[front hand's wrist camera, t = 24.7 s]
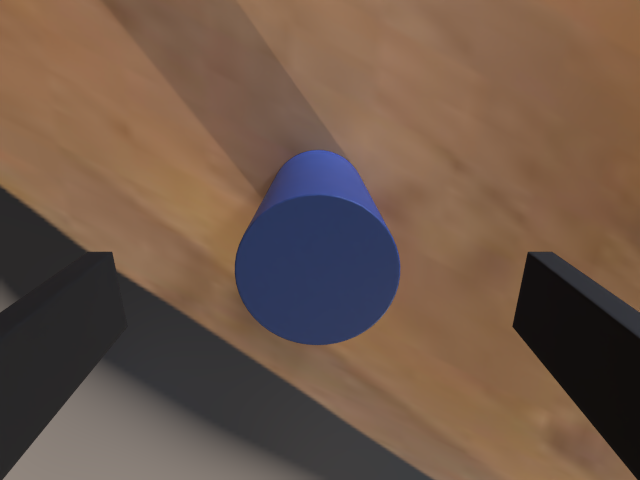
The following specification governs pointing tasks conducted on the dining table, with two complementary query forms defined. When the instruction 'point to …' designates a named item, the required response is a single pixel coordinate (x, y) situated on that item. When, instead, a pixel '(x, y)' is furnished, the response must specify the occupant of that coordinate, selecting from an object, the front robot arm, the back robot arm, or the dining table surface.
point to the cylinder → (317, 254)
